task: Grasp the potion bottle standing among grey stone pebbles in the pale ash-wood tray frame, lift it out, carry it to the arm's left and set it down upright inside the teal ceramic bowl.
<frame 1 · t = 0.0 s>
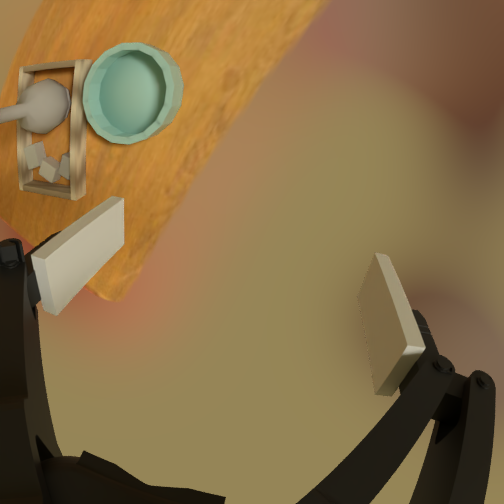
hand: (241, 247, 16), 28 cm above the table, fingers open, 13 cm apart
grey boxy piece: (40, 153, 45), resting in tray
potion bottle: (56, 103, 41), resting in tray
tray: (54, 127, 42), on the table
pebble c: (55, 167, 46), resting in tray
bowl: (136, 92, 39), on the table
pebble b: (73, 163, 45), resting in tray
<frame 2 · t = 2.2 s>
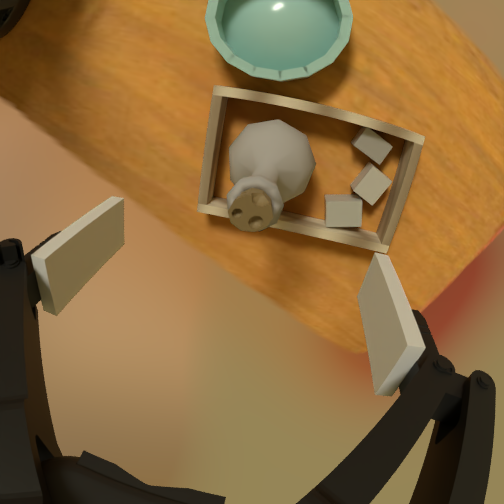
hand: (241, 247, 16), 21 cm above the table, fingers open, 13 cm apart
grey boxy piece: (341, 206, 36), resting in tray
potion bottle: (273, 156, 35), resting in tray
tray: (308, 165, 34), on the table
pebble c: (368, 180, 34), resting in tray
bowl: (280, 20, 27), on the table
pebble b: (369, 142, 32), resting in tray
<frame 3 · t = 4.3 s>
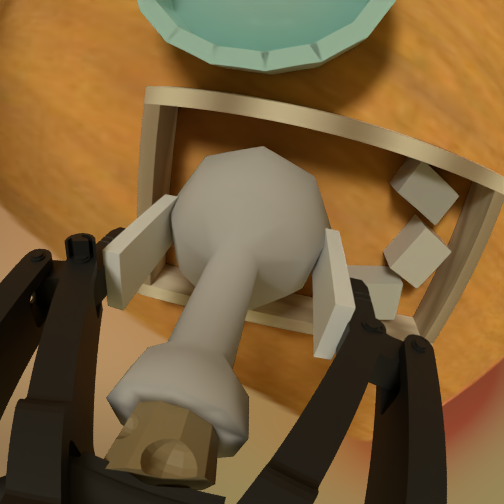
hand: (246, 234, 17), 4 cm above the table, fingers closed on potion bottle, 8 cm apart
grey boxy piece: (365, 282, 23), resting in tray
potion bottle: (256, 205, 21), resting in tray, touching gripper
tray: (316, 220, 21), on the table
pebble c: (411, 243, 21), resting in tray
pebble b: (418, 183, 19), resting in tray
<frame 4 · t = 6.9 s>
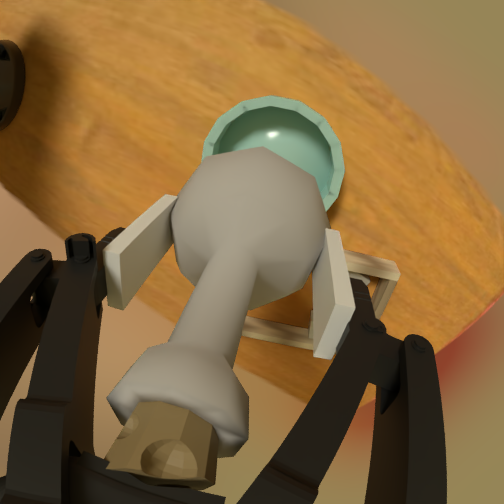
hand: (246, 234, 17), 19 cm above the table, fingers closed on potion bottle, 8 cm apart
grey boxy piece: (324, 318, 43), resting in tray
potion bottle: (256, 206, 21), point 14 cm above the table, touching gripper
tray: (296, 289, 41), on the table
bowl: (274, 160, 34), on the table
pebble b: (351, 271, 39), resting in tray
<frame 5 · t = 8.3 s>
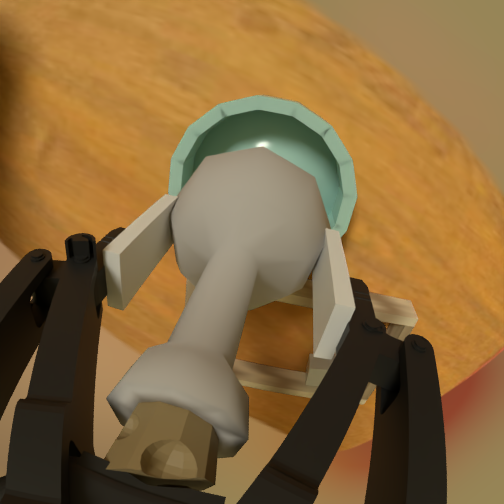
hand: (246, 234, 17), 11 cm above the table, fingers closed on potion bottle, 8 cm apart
grey boxy piece: (324, 362, 36), resting in tray
potion bottle: (256, 206, 21), point 6 cm above the table, touching gripper
tray: (292, 332, 34), on the table
bowl: (264, 180, 26), on the table
when the fingers open (7 cm above the table, at t = 9.5 s): potion bottle drops 2 cm, resting on bowl.
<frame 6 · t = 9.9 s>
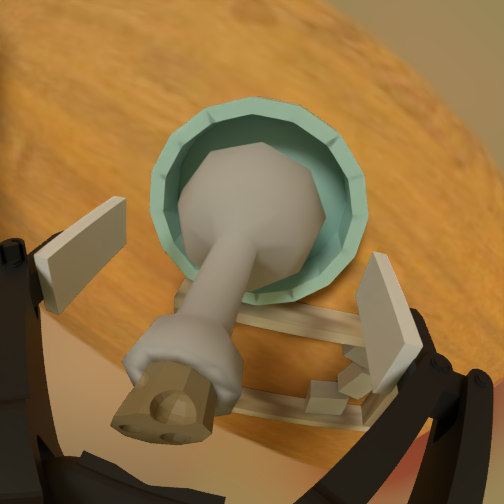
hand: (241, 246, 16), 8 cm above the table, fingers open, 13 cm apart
grey boxy piece: (326, 388, 32), resting in tray
potion bottle: (258, 196, 23), point 1 cm above the table, touching bowl
tray: (291, 359, 30), on the table
pebble c: (358, 369, 30), resting in tray
bowl: (260, 195, 23), on the table
pebble b: (363, 339, 28), resting in tray
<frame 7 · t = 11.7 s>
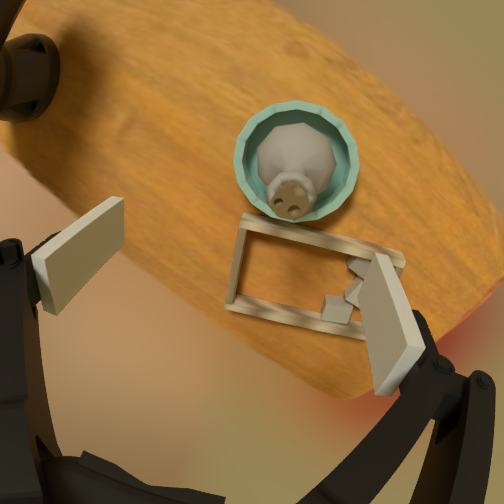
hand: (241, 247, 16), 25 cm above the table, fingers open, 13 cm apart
grey boxy piece: (335, 304, 47), resting in tray
potion bottle: (296, 157, 37), resting on bowl
tray: (312, 275, 45), on the table
pebble c: (358, 286, 45), resting in tray
bowl: (296, 157, 38), on the table
pebble b: (361, 260, 43), resting in tray
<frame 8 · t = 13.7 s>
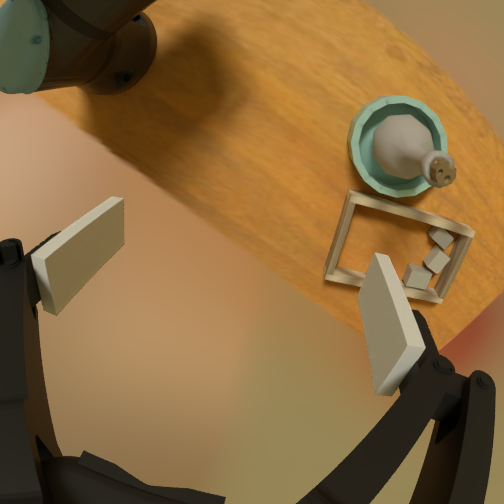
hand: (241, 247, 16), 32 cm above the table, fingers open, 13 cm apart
grey boxy piece: (415, 272, 50), resting in tray
potion bottle: (395, 143, 40), resting on bowl
tray: (399, 246, 48), on the table
pebble c: (434, 255, 48), resting in tray
bowl: (395, 143, 41), on the table
pebble b: (438, 232, 46), resting in tray
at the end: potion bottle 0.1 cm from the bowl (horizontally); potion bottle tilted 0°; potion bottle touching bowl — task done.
